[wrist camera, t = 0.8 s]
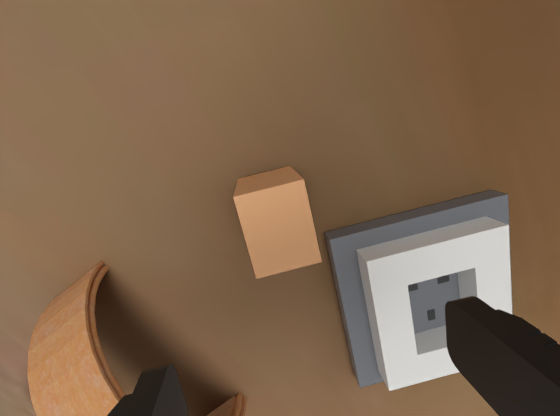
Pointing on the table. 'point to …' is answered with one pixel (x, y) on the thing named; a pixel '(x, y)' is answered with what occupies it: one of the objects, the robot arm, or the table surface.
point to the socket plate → (417, 283)
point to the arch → (80, 358)
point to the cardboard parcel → (276, 221)
